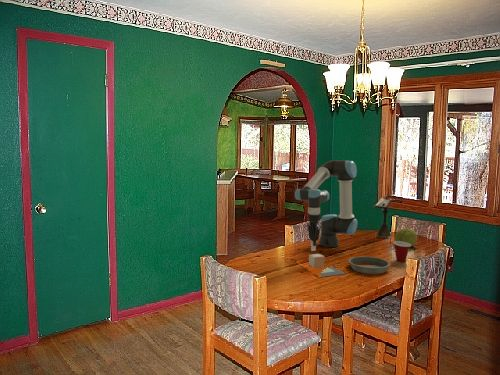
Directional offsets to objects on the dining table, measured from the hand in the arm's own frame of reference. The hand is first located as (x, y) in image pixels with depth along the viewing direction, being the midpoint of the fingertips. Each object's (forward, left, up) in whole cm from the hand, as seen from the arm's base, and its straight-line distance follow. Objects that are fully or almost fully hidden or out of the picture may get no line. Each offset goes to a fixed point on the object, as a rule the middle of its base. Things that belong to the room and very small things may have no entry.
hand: (313, 250), depth 268 cm
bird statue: (-44, +91, -10) cm, 101 cm away
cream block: (+1, 0, -6) cm, 6 cm away
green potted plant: (-15, +88, -10) cm, 90 cm away
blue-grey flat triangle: (+5, 0, -10) cm, 11 cm away
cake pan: (+18, +29, -10) cm, 36 cm away
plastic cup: (+13, +59, -10) cm, 61 cm away
